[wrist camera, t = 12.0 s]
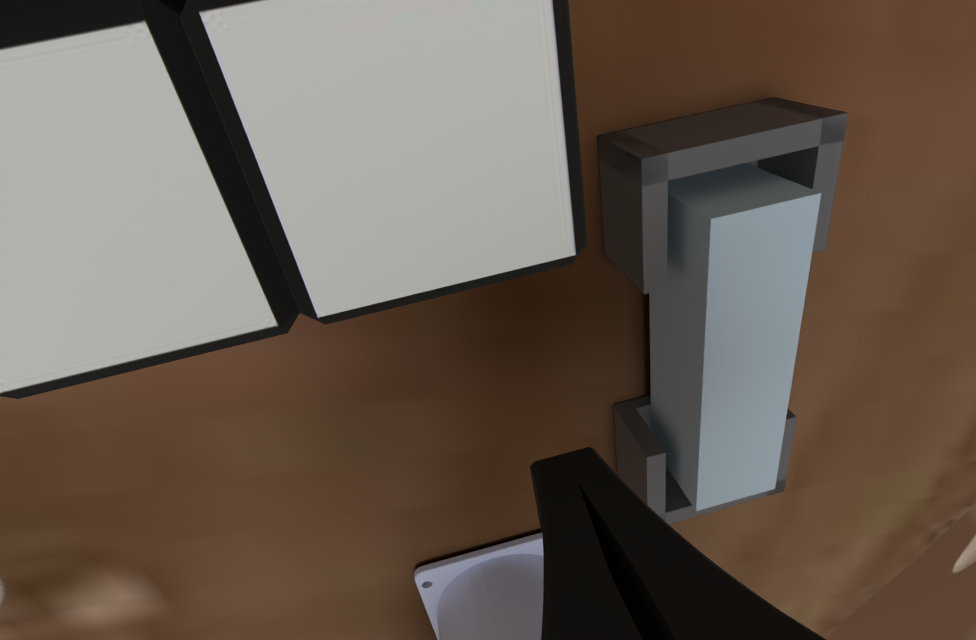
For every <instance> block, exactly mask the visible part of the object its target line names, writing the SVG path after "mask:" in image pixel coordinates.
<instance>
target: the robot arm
mask: <svg viewBox="0 0 976 640" xmlns="http://www.w3.org/2000/svg"><path fill="white" fill-rule="evenodd" d="M530 470H531V476H532V481H533V487H534V493H535V499H536V504H537V510H538V516H539V522H540V526H541V529H542V532H541V533H538V534H534V535H531V536H527V537H524V538H520V539H516V540H513V541H509V542H506V543H502V544H499V545H495V546H492V547H488V548H484V549H481V550H477V551H474V552H470V553H467V554H463V555H459V556H456V557H452V558H449V559H445V560H442V561H438V562H435V563H431V564H427V565H424V566H421V567H419V568H417V569H416V570H415V572H414V577H415V582H416V585H417V588H418V590H419V593H420V595H421V598H422V601H423V603H424V606H425V608H426V611H427V614H428V616H429V619H430V621H431V624H432V627H433V629H434V632H435V634H436V637H437V640H826V639H824V638H823V637H821V636H820V635H818V634H816V633H815V632H813V631H812V630H810V629H808V628H807V627H805V626H804V625H802V624H800V623H799V622H797V621H796V620H794V619H792V618H791V617H789V616H788V615H786V614H784V613H783V612H781V611H780V610H778V609H777V608H776V607H774V606H773V605H771V604H770V603H768V602H767V601H765V600H764V599H763V598H761V597H760V596H758V595H757V594H755V593H754V592H752V591H751V590H750V589H748V588H747V587H746V586H744V585H743V584H741V583H740V582H739V581H737V580H736V579H735V578H733V577H732V576H731V575H729V574H728V573H727V572H725V571H724V570H723V569H721V568H720V567H719V566H717V565H716V564H715V563H714V562H712V561H711V560H710V559H709V558H707V557H706V556H705V555H704V554H702V553H701V552H700V551H699V550H698V549H696V548H695V547H694V546H693V545H692V544H690V543H689V542H688V541H687V540H686V539H684V538H683V537H682V536H681V535H680V534H678V533H677V532H676V531H675V530H674V529H673V528H672V527H670V526H669V525H668V524H667V523H666V522H665V521H664V520H663V519H662V518H661V517H660V516H658V515H657V514H656V513H655V512H654V511H653V510H652V509H651V508H650V507H649V506H648V505H647V504H645V503H644V502H643V501H642V500H641V499H640V498H639V497H638V496H637V495H636V494H635V493H634V492H633V491H632V490H631V489H630V488H629V487H628V486H627V485H626V484H625V483H624V482H623V481H622V480H621V479H620V478H619V477H618V475H617V474H616V473H615V472H614V471H613V470H612V469H611V468H610V467H609V466H608V465H607V464H606V462H605V461H604V460H603V459H602V458H601V457H600V456H599V454H598V453H597V452H596V451H595V450H594V449H592V448H590V447H587V448H583V449H580V450H576V451H572V452H569V453H565V454H561V455H557V456H554V457H550V458H546V459H543V460H539V461H535V462H534V463H533V464H532V465H531V466H530Z"/></svg>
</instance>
